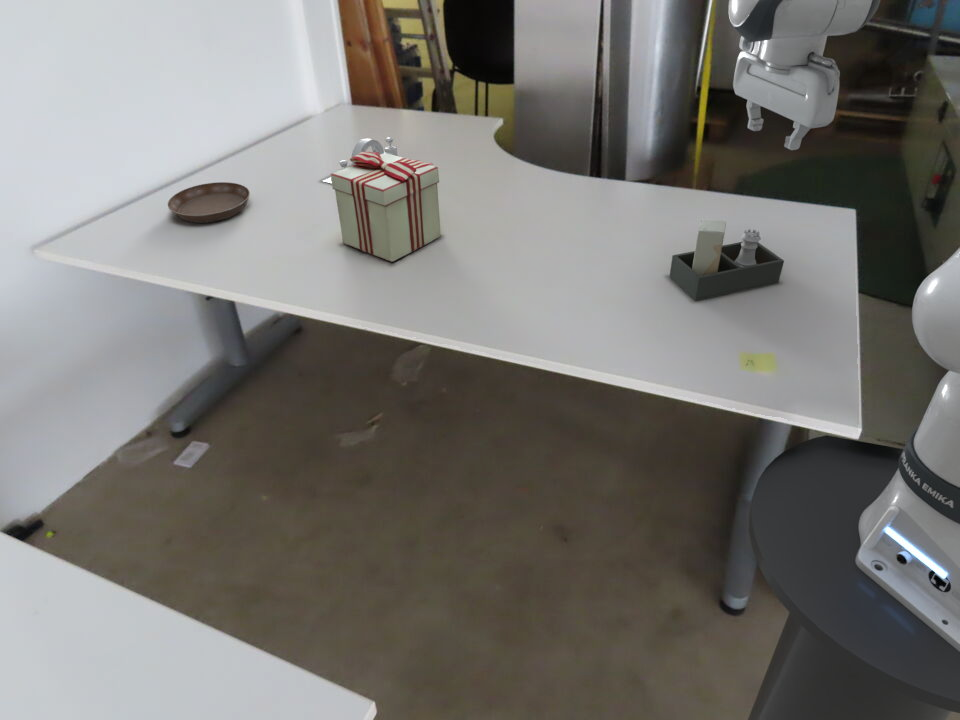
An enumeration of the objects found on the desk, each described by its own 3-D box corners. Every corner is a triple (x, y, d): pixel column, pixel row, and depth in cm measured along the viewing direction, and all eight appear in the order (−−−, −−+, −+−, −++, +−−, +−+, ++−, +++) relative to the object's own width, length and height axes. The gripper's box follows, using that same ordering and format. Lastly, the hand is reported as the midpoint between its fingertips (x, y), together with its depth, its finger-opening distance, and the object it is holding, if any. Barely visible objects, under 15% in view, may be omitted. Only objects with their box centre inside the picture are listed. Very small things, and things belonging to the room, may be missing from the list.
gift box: (454, 229, 146) (449, 148, 136) (397, 266, 134) (387, 180, 124) (391, 211, 154) (382, 134, 144) (333, 245, 142) (318, 163, 132)
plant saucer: (267, 207, 158) (264, 194, 156) (196, 234, 148) (191, 221, 146) (227, 188, 168) (223, 175, 167) (157, 212, 158) (153, 199, 156)
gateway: (347, 186, 166) (342, 153, 161) (339, 184, 167) (334, 152, 162) (397, 159, 179) (394, 128, 174) (390, 158, 180) (387, 127, 175)
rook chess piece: (739, 264, 128) (748, 224, 124) (761, 273, 126) (770, 232, 121) (725, 272, 126) (733, 232, 121) (747, 281, 123) (756, 240, 119)
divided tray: (778, 283, 124) (784, 260, 121) (695, 300, 120) (698, 278, 118) (749, 260, 131) (753, 239, 128) (669, 277, 127) (672, 255, 124)
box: (713, 291, 122) (724, 233, 115) (688, 288, 123) (697, 230, 116) (716, 276, 125) (726, 219, 119) (691, 273, 127) (700, 217, 120)
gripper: (860, 59, 96) (834, 157, 104) (768, 30, 112) (751, 117, 120) (822, 65, 94) (798, 164, 103) (733, 34, 110) (719, 122, 118)
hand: (772, 138), depth 111 cm, fingers open, 8 cm apart
